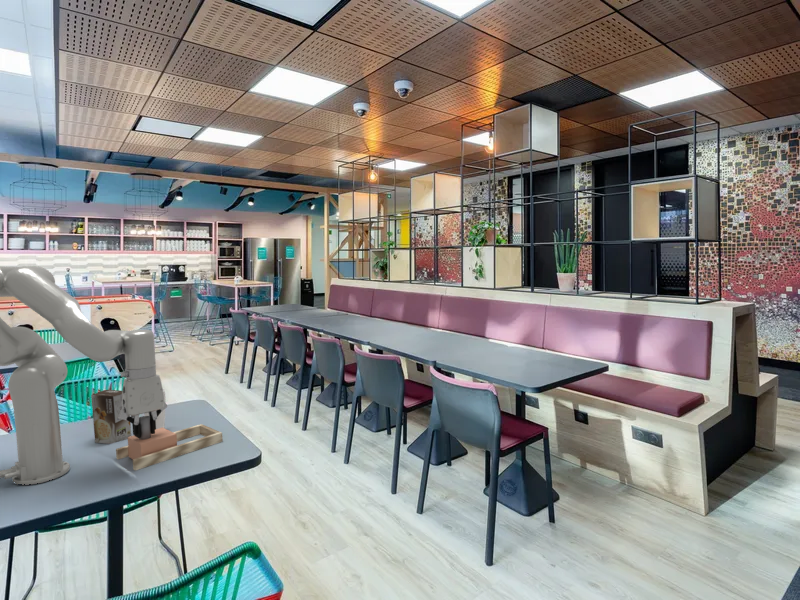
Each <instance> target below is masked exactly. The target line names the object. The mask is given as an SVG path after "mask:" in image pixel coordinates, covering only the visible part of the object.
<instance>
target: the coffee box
mask: <svg viewBox="0 0 800 600" xmlns="http://www.w3.org/2000/svg"><path fill="white" fill-rule="evenodd" d="M91 407H92V420H93V422H92V423H93V432H94V435H93V436H94V443H96V444H105V445H106V444H107V445H112V444H115V443H119V442H122V441H126V440H128V437H130V436H132V425H131V424H132V423H131V422H129V421H127V420H123V419H120V418H118V415H119V413H120V411H121V409H122V390H118V389H117V390H115V389H104V390H101V391H99V392H98V391H97V392H96V393H92V394H91ZM126 415H127V416H130V417H131V415H129V414H127V413H126Z"/></svg>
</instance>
